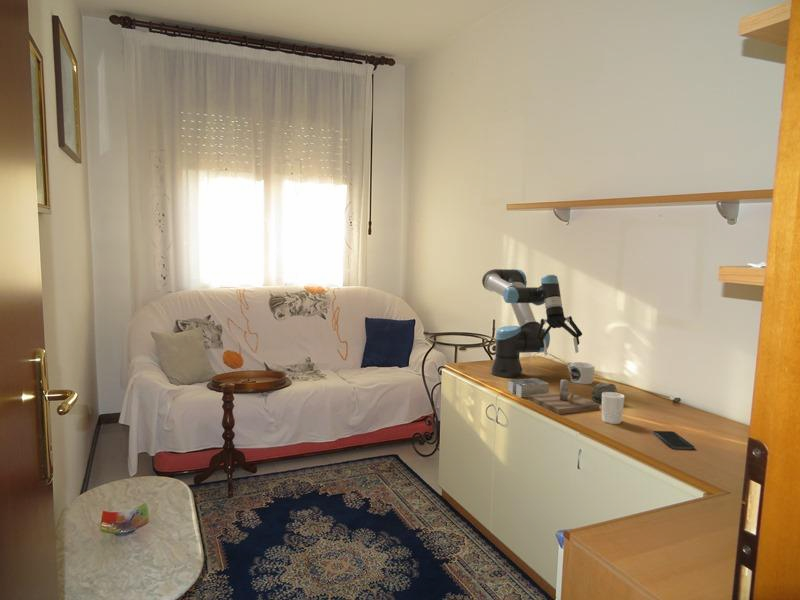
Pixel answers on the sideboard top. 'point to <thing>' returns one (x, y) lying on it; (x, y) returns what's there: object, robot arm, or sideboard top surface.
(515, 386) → the grey block
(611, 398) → the white cup
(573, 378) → the mug
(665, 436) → the phone
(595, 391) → the fossil
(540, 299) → the robot arm
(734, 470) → the sideboard top surface
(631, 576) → the sideboard top surface
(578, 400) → the base
